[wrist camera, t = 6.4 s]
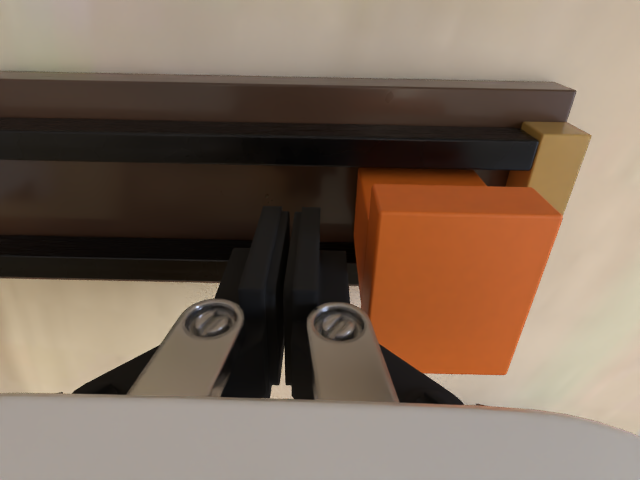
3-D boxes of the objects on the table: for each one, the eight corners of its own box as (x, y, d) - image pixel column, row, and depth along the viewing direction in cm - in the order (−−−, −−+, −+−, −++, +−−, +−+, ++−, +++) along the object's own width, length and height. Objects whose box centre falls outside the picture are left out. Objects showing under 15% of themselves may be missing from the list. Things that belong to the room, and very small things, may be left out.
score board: (-297, 64, 14) (-359, 71, 13) (555, 82, 14) (578, 90, 13) (-164, 255, 19) (-200, 274, 17) (500, 269, 18) (513, 290, 17)
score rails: (-334, 103, 14) (-402, 114, 12) (567, 121, 14) (592, 135, 12) (-216, 254, 17) (-261, 276, 15) (519, 270, 17) (535, 293, 15)
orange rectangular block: (360, 135, 14) (378, 211, 9) (480, 137, 14) (565, 215, 9) (351, 260, 16) (362, 373, 11) (453, 262, 16) (507, 376, 11)
